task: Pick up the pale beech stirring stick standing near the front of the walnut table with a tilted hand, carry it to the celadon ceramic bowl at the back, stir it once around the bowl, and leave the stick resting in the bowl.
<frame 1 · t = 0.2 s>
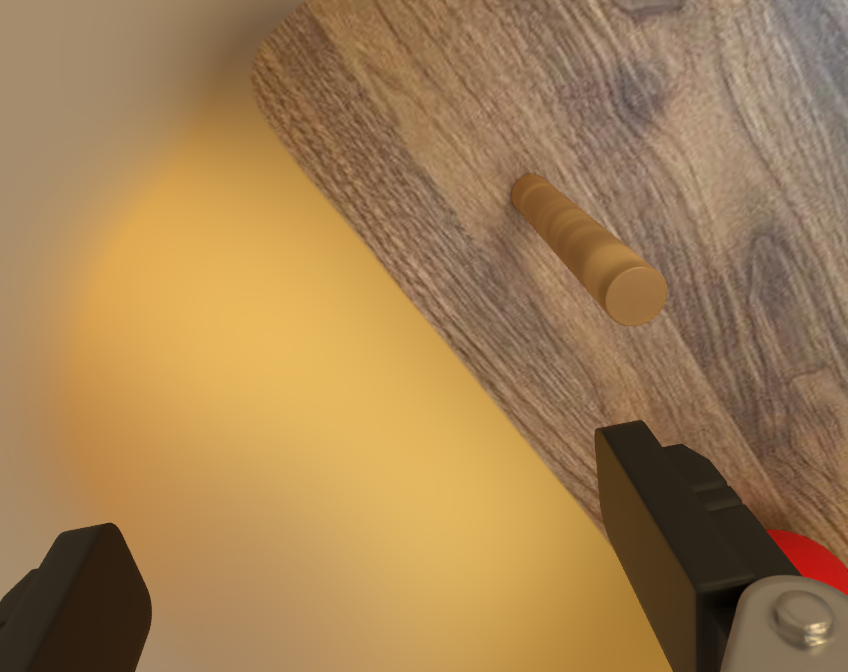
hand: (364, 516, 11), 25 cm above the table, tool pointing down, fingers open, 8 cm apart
stick: (530, 193, 35), on the table
ornament: (741, 552, 46), on the table
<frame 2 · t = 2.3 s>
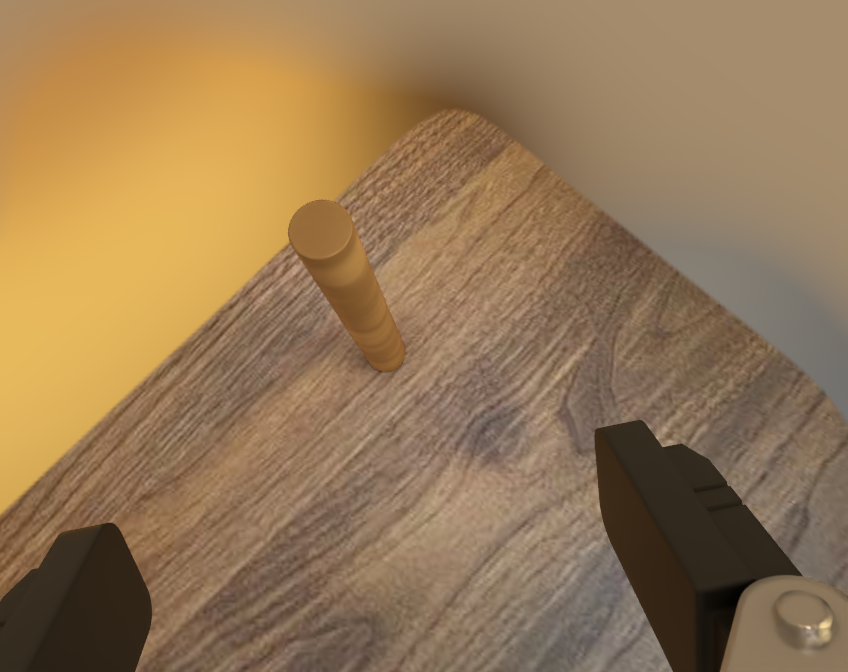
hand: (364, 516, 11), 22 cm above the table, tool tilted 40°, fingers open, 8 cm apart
stick: (386, 353, 35), on the table
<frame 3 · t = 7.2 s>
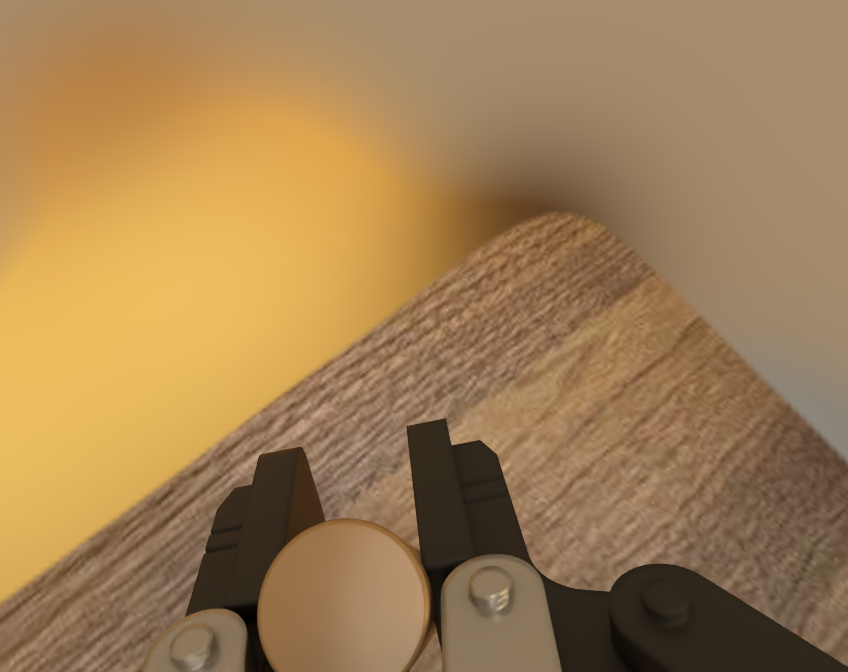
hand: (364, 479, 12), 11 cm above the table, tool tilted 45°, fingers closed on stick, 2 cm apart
stick: (424, 591, 22), on the table, touching gripper
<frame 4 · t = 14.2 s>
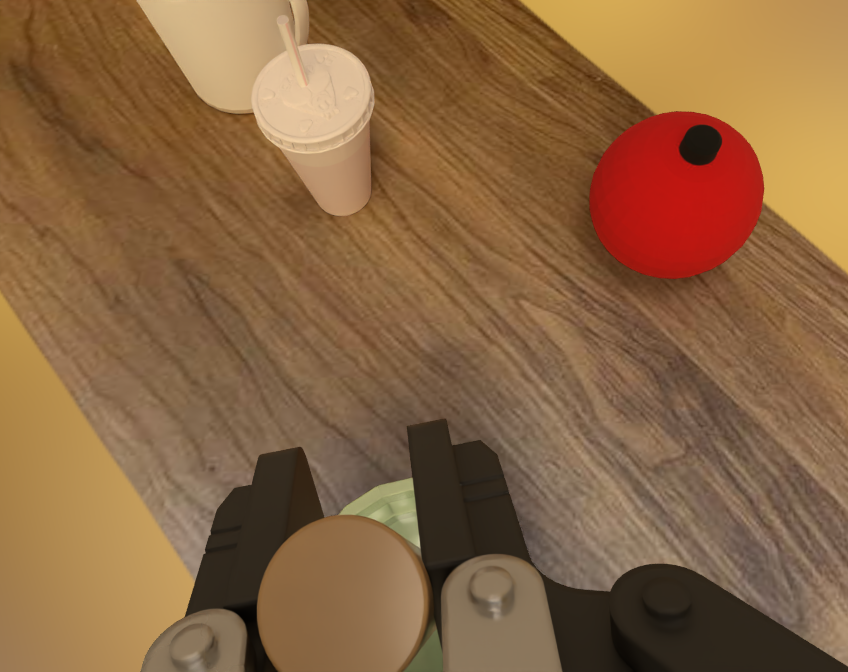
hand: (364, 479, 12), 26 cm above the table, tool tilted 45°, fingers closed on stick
stick: (424, 590, 22), point 15 cm above the table, touching gripper
smoothie: (343, 192, 44), on the table
bowl: (427, 592, 36), on the table
ornament: (651, 237, 42), on the table
mug: (261, 74, 48), on the table
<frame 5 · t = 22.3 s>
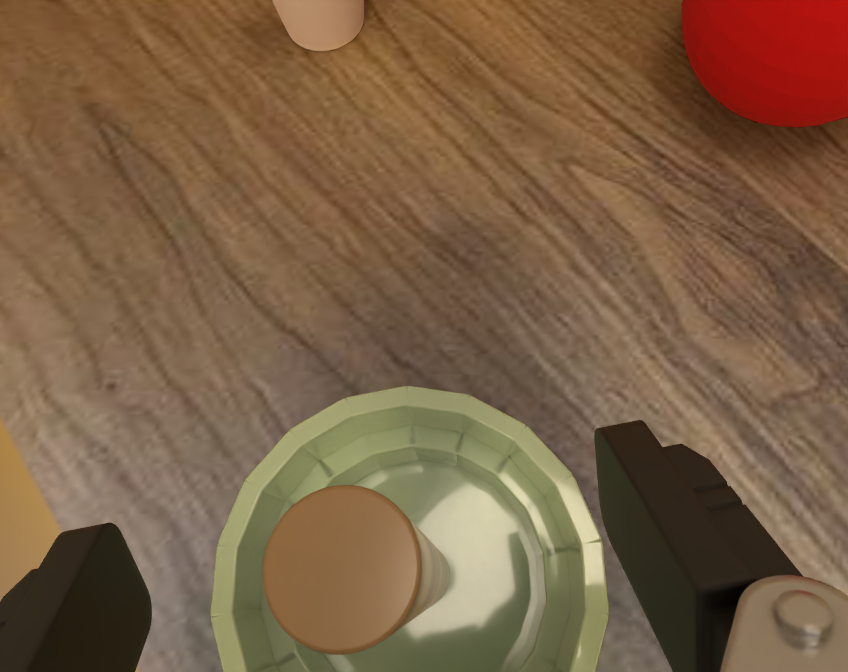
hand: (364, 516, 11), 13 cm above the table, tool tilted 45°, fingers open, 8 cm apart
stick: (420, 574, 22), point 1 cm above the table, touching bowl
smoothie: (325, 22, 32), on the table
bowl: (421, 578, 23), on the table
ornament: (760, 86, 29), on the table
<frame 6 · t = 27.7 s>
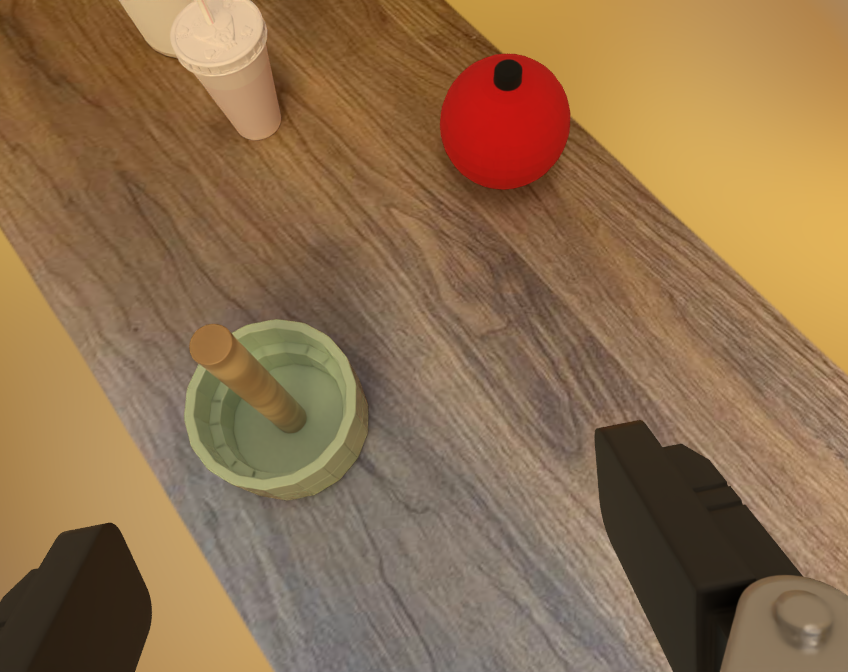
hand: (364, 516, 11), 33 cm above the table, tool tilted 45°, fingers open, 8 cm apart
stick: (291, 418, 45), point 1 cm above the table, touching bowl
smoothie: (259, 122, 54), on the table
bowl: (294, 423, 46), on the table
ornament: (501, 162, 52), on the table
mug: (200, 27, 58), on the table
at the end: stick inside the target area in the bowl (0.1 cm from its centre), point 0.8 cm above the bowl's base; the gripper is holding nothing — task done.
